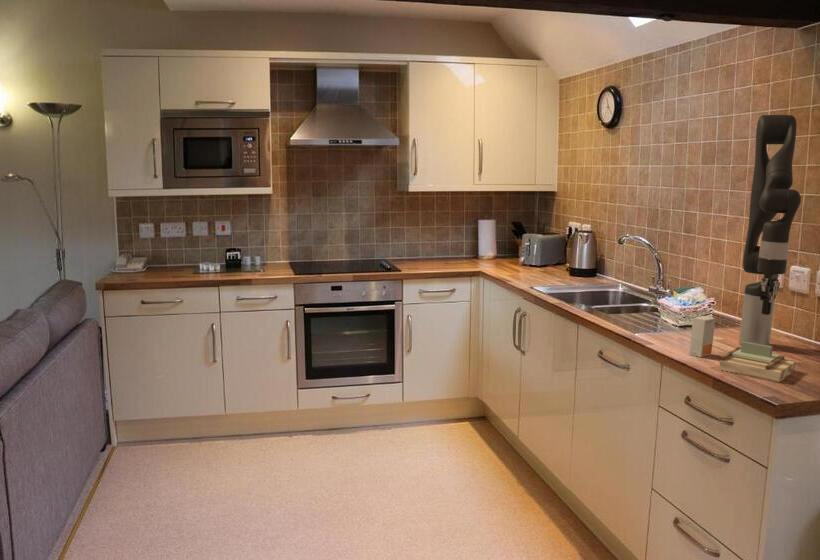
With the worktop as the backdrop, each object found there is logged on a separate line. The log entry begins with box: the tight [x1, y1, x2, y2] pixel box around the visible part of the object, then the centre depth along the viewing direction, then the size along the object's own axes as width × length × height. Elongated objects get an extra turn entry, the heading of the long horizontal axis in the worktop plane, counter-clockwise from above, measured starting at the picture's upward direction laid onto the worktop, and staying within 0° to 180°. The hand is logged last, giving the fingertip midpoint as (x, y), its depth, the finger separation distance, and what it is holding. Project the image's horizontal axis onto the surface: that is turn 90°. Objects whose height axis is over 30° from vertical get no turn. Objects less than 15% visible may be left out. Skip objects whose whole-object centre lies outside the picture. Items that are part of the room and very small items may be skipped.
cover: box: [732, 341, 781, 363], centre depth 205 cm, size 9×11×4 cm
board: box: [718, 346, 796, 384], centre depth 202 cm, size 16×16×4 cm
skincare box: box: [688, 315, 716, 358], centre depth 217 cm, size 6×4×12 cm
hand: (766, 314), depth 207 cm, fingers closed
